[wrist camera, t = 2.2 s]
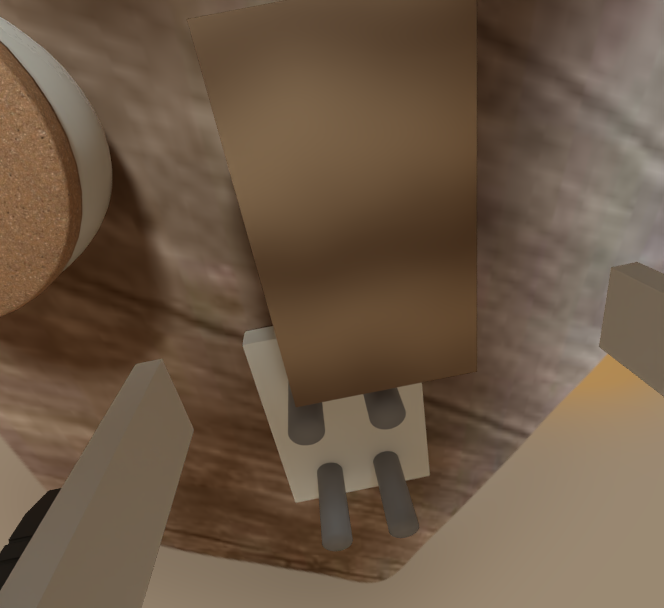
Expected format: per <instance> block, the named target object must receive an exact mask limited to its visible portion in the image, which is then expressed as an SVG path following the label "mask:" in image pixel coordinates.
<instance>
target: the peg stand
mask: <svg viewBox="0 0 664 608" xmlns="http://www.w3.org/2000/svg"><path fill="white" fill-rule="evenodd" d="M242 346H243V349H244V352H245V354H246V357H247V360H248V363H249V366H250V369H251V372H252V375H253V378H254V381H255V384H256V387H257V390H258V393H259V396H260V399H261V402H262V405H263V408H264V411H265V414H266V417H267V420H268V423H269V426H270V429H271V432H272V435H273V438H274V440H275V443H276V446H277V449H278V452H279V455H280V458H281V461H282V464H283V467H284V470H285V473H286V476H287V479H288V482H289V485H290V488H291V491H292V494H293V497H294V500H295V503H297V502H302V501H307V500H312V499H317V498H319V506H320V520H321V533H322V545H323V547H324V548H325V549H327V550H330V551H341V550H344V549H346V548H348V547H349V546H350V545H351V544H352V541H353V539H352V532H351V525H350V518H349V511H348V504H347V497H346V493H347V492H352V491H357V490H362V489H367V488H372V487H377V486H379V490H380V494H381V499H382V503H383V507H384V512H385V516H386V520H387V525H388V529H389V533H390V534H391V535H392V536H393V537H396V538H405V537H409V536H411V535H413V534H414V533H416V532H417V530H418V529H419V523H418V520H417V517H416V514H415V510H414V507H413V504H412V500H411V497H410V494H409V491H408V487H407V484H406V480H411V479H416V478H421V477H426V476H430V470H429V459H428V447H427V436H426V425H425V413H424V402H423V390H422V383H417V384H412V385H407V386H402V387H397V388H392V389H387V390H382V391H377V392H371V393H366V394H361V395H356V396H351V397H346V398H341V399H336V400H331V401H326V402H321V403H316V404H311V405H306V406H301V407H296V406H295V403H294V399H293V396H292V392H291V388H290V385H289V381H288V378H287V374H286V371H285V367H284V363H283V360H282V356H281V353H280V349H279V346H278V342H277V339H276V335H275V331H274V328H273V326H270V327H265V328H260V329H255V330H250V331H245V334H244V339H243V345H242Z"/></svg>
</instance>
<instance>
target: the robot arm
mask: <svg viewBox="0 0 664 608" xmlns="http://www.w3.org/2000/svg"><path fill="white" fill-rule="evenodd" d="M599 347H600V348H601V349H603V350H604V351H605V352H607V353H608V354H609V355H611V356H612V357H613V358H614V359H616V360H617V361H618V362H619V363H621V364H622V365H623V366H625V367H626V368H627V369H629V370H630V371H631V372H632V373H634V374H635V375H636V376H638V377H639V378H640V379H642V380H643V381H644V382H645V383H647V384H648V385H649V386H651V387H652V388H653V389H654V390H656V391H657V392H658V393H660V394H661V395H662V396H664V274H663V273H661V272H658V271H656V270H654V269H652V268H649V267H647V266H645V265H643V264H640V263H638V262H635V263H630V264H626V265H621V266H616V267H611V273H610V279H609V286H608V292H607V299H606V305H605V312H604V318H603V325H602V331H601V338H600V344H599ZM193 432H194V428H193V426H192V424H191V422H190V420H189V417H188V415H187V413H186V411H185V408H184V406H183V404H182V402H181V400H180V397H179V395H178V393H177V391H176V388H175V386H174V384H173V382H172V379H171V377H170V375H169V373H168V371H167V368H166V366H165V364H164V362H163V359H158V360H153V361H148V362H143V363H138V364H135V366H134V368H133V369H132V371H131V373H130V374H129V376H128V378H127V379H126V381H125V383H124V384H123V386H122V388H121V389H120V391H119V393H118V394H117V396H116V398H115V399H114V401H113V403H112V404H111V406H110V408H109V409H108V411H107V413H106V415H105V416H104V418H103V420H102V421H101V423H100V425H99V426H98V428H97V430H96V431H95V433H94V435H93V436H92V438H91V440H90V441H89V443H88V445H87V446H86V448H85V450H84V451H83V453H82V455H81V456H80V458H79V460H78V461H77V463H76V465H75V466H74V468H73V470H72V471H71V473H70V475H69V476H68V478H67V480H66V481H65V483H64V485H63V486H62V488H59V489H55V490H50V491H48V492H47V493H46V494H45V495H44V496H43V497H42V498H41V499H40V500H39V501H38V502H37V503H36V504H35V505H34V506H33V507H32V508H31V509H30V510H29V511H28V512H27V513H26V514H25V516H24V517H23V518H22V520H21V522H20V523H19V525H18V526H17V528H16V529H15V531H14V532H13V534H12V535H11V537H10V539H9V544H8V545H5V546H4V548H3V549H2V551H1V553H0V608H142V605H143V601H144V598H145V594H146V591H147V588H148V584H149V581H150V578H151V574H152V571H153V567H154V564H155V560H156V557H157V554H158V550H159V547H160V544H161V540H162V537H163V533H164V530H165V527H166V523H167V520H168V516H169V513H170V510H171V506H172V503H173V499H174V496H175V493H176V489H177V486H178V482H179V479H180V476H181V472H182V469H183V466H184V462H185V459H186V455H187V452H188V449H189V445H190V442H191V438H192V435H193Z"/></svg>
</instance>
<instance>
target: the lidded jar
mask: <svg viewBox="0 0 664 608" xmlns="http://www.w3.org/2000/svg"><path fill="white" fill-rule="evenodd" d="M111 191H112V164H111V157H110V151H109V146H108V143H107V140H106V136H105V133H104V130H103V128H102V125H101V123H100V121H99V119H98V117H97V115H96V112H95V110H94V109H93V107H92V106H91V104H90V102H89V101H88V99H87V98H86V96H85V94H84V93H83V91H82V90H81V88H80V87H79V86H78V84H77V83H76V82H75V81H74V79H73V78H72V77H71V76H70V74H69V73H68V72H67V71H66V69H65V68H64V67H63V66H62V65H61V64H60V63H59V62H58V61H57V60H56V59H55V58H54V57H53V56H52V55H51V54H50V53H49V52H48V51H47V50H46V49H44V48H43V47H42V46H40V45H39V44H38V43H37V42H35V41H34V40H33V39H31V38H30V37H29V36H28V35H26V34H25V33H24V32H22V31H21V30H20V29H18V28H17V27H15V26H14V25H13V24H11V23H10V22H8V21H7V20H5V19H3V18H2V17H0V317H2V316H4V315H6V314H8V313H11V312H13V311H15V310H18V309H19V308H21V307H22V306H24V305H25V304H27V303H28V302H30V301H31V300H32V299H34V298H35V297H37V296H38V295H39V294H41V293H42V292H43V291H44V290H45V289H46V288H47V287H48V286H49V285H50V284H51V283H52V282H53V281H54V280H55V279H56V278H57V277H58V276H59V275H60V274H61V273H62V272H63V271H64V270H65V269H66V268H67V267H68V266H70V265H71V264H72V262H73V261H74V260H75V259H76V258H77V257H78V256H79V255H80V254H81V253H82V252H83V251H84V250H85V248H86V247H87V246H88V245H89V243H90V242H91V240H92V239H93V237H94V236H95V234H96V233H97V231H98V230H99V228H100V226H101V223H102V221H103V219H104V216H105V214H106V211H107V209H108V206H109V202H110V197H111Z"/></svg>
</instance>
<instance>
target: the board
mask: <svg viewBox="0 0 664 608" xmlns="http://www.w3.org/2000/svg"><path fill="white" fill-rule="evenodd" d="M187 22H188V25H189V29H190V33H191V36H192V40H193V43H194V47H195V50H196V54H197V57H198V61H199V65H200V68H201V72H202V75H203V79H204V82H205V86H206V89H207V93H208V97H209V100H210V104H211V107H212V111H213V114H214V118H215V121H216V125H217V129H218V132H219V136H220V139H221V143H222V146H223V150H224V154H225V157H226V161H227V164H228V168H229V171H230V175H231V178H232V182H233V186H234V189H235V193H236V196H237V200H238V203H239V207H240V210H241V214H242V218H243V221H244V225H245V228H246V232H247V235H248V239H249V242H250V246H251V250H252V253H253V257H254V260H255V264H256V267H257V271H258V275H259V278H260V282H261V285H262V289H263V292H264V296H265V299H266V303H267V307H268V310H269V314H270V317H271V321H272V324H273V328H274V331H275V335H276V339H277V342H278V346H279V349H280V353H281V356H282V360H283V363H284V367H285V371H286V374H287V378H288V381H289V385H290V388H291V392H292V396H293V399H294V403H295V406H296V407H301V406H306V405H311V404H316V403H321V402H326V401H331V400H336V399H341V398H346V397H351V396H356V395H361V394H366V393H371V392H377V391H382V390H387V389H392V388H397V387H402V386H407V385H412V384H417V383H422V382H427V381H432V380H437V379H442V378H447V377H452V376H457V375H463V374H468V373H473V372H477V0H284V1H279V2H273V3H268V4H263V5H258V6H253V7H247V8H242V9H237V10H232V11H227V12H221V13H216V14H211V15H206V16H201V17H195V18H190V19H187Z"/></svg>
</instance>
